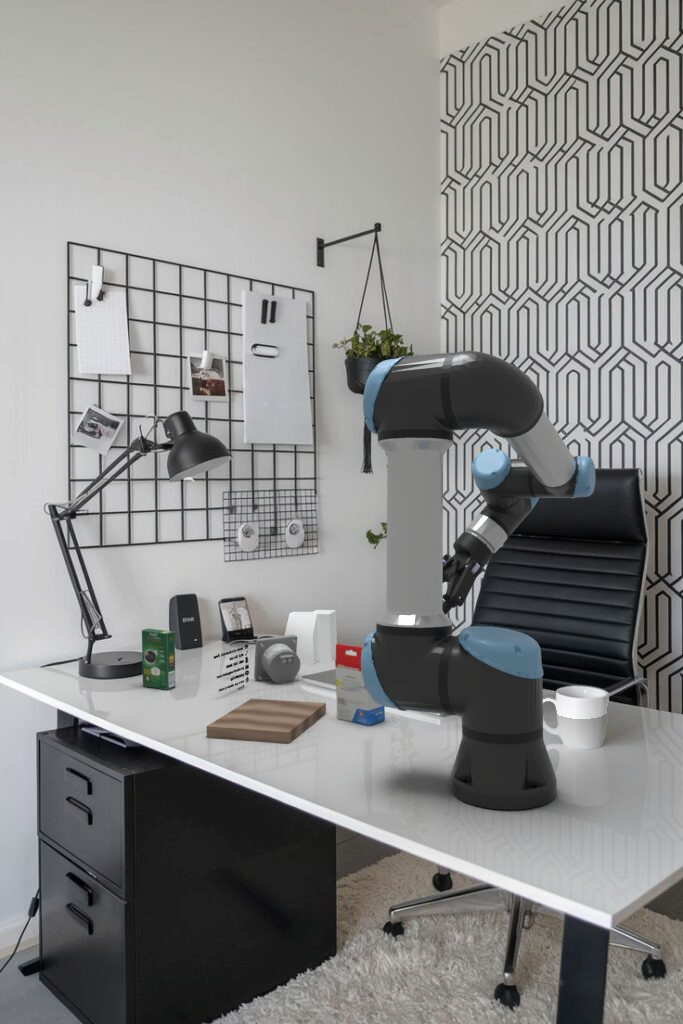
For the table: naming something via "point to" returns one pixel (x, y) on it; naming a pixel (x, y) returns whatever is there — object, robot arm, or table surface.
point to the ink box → (354, 689)
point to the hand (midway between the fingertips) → (410, 624)
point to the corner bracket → (314, 635)
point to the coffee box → (158, 658)
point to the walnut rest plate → (267, 720)
